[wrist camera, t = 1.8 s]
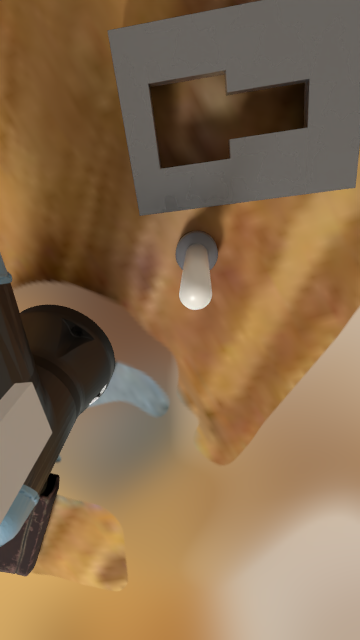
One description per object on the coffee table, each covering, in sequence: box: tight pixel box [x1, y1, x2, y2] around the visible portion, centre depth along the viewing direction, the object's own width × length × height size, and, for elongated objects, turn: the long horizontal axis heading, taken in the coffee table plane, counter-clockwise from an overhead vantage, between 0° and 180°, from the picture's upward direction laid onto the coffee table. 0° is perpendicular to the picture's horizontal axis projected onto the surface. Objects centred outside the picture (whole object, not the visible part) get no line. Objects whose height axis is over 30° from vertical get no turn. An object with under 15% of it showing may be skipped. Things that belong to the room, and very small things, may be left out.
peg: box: [176, 231, 218, 310], centre depth 29 cm, size 5×5×14 cm
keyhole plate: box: [108, 0, 360, 216], centre depth 28 cm, size 20×14×4 cm
